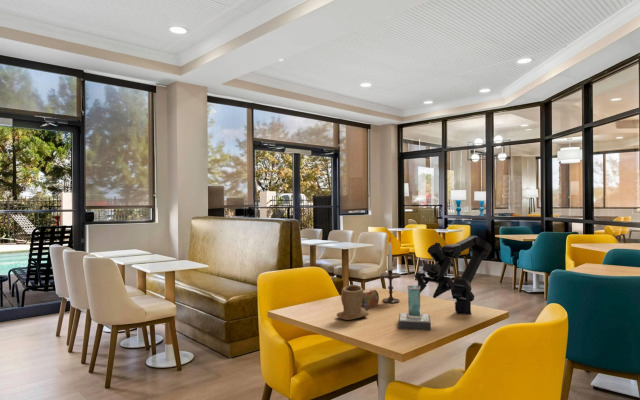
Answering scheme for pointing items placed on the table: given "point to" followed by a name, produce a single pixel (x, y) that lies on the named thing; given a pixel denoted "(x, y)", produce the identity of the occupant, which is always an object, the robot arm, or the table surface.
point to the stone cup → (352, 303)
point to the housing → (414, 302)
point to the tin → (370, 299)
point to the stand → (414, 322)
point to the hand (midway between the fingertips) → (425, 295)
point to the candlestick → (390, 277)
